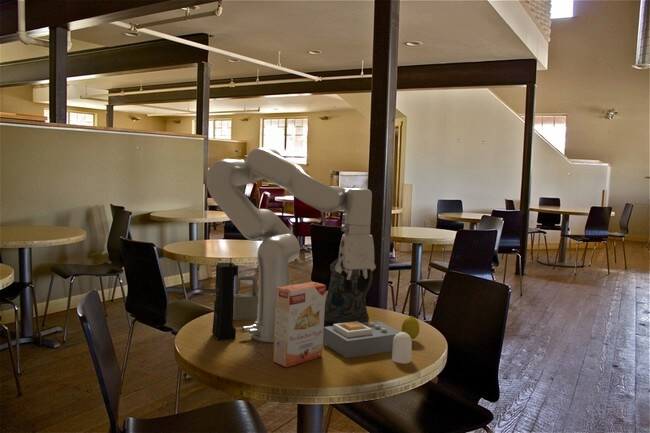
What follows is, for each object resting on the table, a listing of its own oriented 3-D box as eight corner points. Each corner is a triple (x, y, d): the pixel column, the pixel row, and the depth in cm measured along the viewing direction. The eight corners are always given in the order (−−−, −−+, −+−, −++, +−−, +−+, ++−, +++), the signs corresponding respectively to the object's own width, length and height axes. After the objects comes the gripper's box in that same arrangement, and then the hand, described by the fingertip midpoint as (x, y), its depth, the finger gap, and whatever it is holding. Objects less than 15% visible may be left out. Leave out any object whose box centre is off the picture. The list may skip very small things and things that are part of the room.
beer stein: (313, 328, 175) (316, 254, 173) (331, 314, 194) (334, 246, 192) (361, 335, 170) (365, 258, 168) (375, 319, 189) (378, 250, 186)
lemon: (420, 339, 168) (422, 315, 167) (416, 344, 163) (417, 319, 162) (403, 336, 170) (405, 312, 170) (398, 341, 165) (400, 316, 165)
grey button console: (346, 358, 148) (347, 335, 148) (322, 342, 161) (323, 322, 160) (403, 349, 158) (404, 328, 157) (377, 335, 170) (378, 316, 170)
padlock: (232, 317, 184) (233, 275, 183) (255, 316, 187) (256, 274, 185) (234, 320, 180) (235, 277, 179) (258, 319, 183) (259, 276, 182)
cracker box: (287, 369, 139) (290, 290, 137) (272, 362, 143) (275, 286, 141) (323, 356, 149) (327, 284, 147) (308, 351, 153) (311, 280, 151)
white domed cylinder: (391, 356, 152) (392, 329, 151) (409, 357, 152) (411, 330, 151) (392, 362, 146) (394, 334, 146) (411, 363, 146) (413, 335, 146)
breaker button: (349, 337, 154) (350, 327, 154) (343, 333, 158) (343, 323, 158) (361, 335, 156) (361, 326, 156) (354, 332, 160) (354, 322, 160)
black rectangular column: (210, 333, 166) (212, 254, 163) (229, 331, 168) (232, 254, 166) (216, 340, 158) (218, 258, 156) (235, 339, 161) (238, 258, 159)
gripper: (339, 232, 147) (336, 296, 149) (388, 231, 155) (384, 292, 157) (326, 229, 154) (323, 290, 155) (373, 228, 162) (370, 287, 163)
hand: (354, 291), depth 156 cm, fingers open, 3 cm apart
